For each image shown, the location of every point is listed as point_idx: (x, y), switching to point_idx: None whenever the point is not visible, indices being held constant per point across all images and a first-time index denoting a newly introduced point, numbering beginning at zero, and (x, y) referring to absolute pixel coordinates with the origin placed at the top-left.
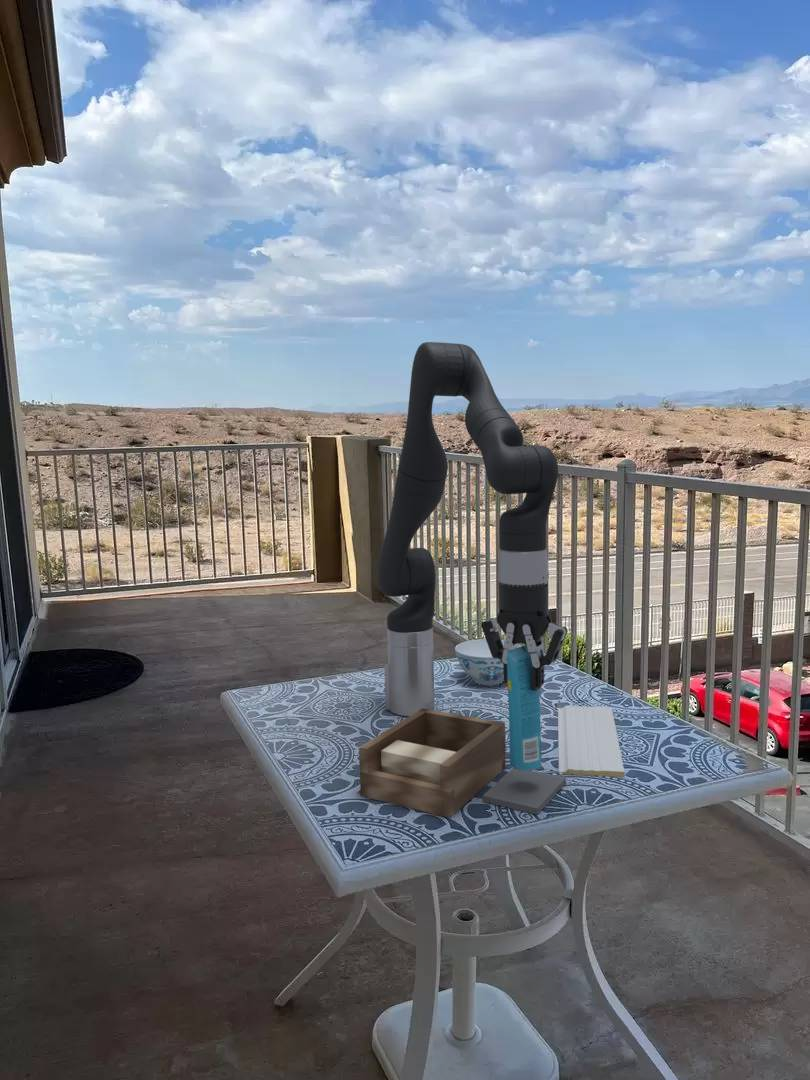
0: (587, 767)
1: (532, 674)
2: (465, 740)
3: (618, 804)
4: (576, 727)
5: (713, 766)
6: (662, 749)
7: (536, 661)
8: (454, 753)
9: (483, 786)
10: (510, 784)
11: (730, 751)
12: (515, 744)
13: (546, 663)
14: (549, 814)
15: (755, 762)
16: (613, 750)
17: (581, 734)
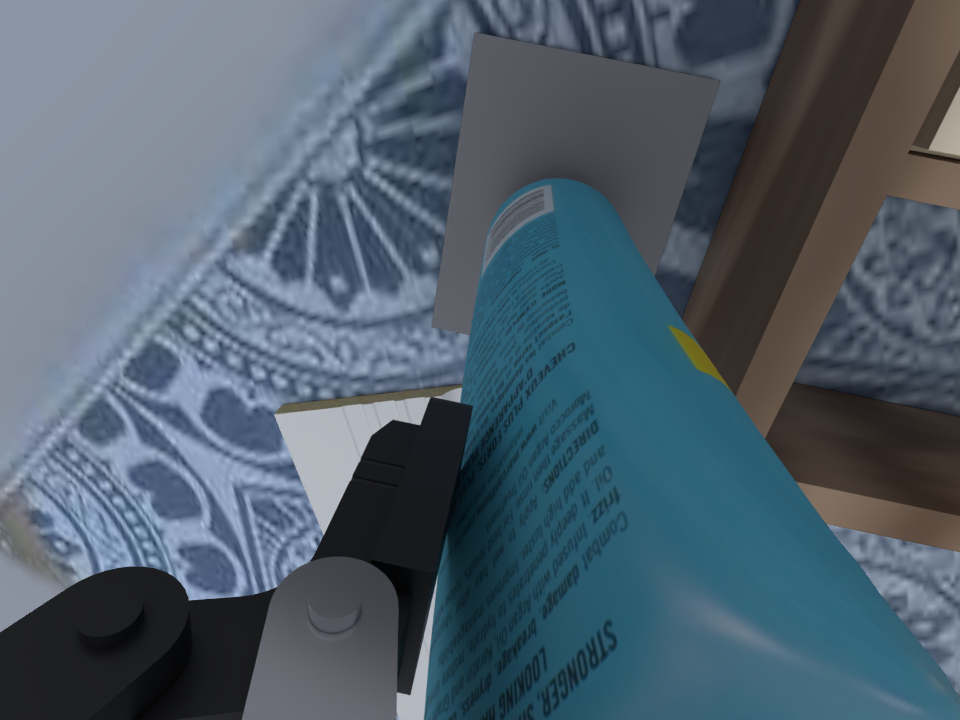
0: (386, 421)
1: (433, 502)
2: (850, 439)
3: (239, 213)
4: None
5: (95, 509)
6: (240, 577)
7: (314, 643)
8: (948, 125)
9: (724, 209)
10: None
11: None
12: (596, 206)
13: (148, 596)
14: (435, 54)
15: (21, 545)
16: None
17: None
